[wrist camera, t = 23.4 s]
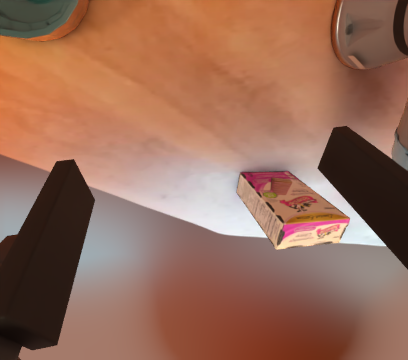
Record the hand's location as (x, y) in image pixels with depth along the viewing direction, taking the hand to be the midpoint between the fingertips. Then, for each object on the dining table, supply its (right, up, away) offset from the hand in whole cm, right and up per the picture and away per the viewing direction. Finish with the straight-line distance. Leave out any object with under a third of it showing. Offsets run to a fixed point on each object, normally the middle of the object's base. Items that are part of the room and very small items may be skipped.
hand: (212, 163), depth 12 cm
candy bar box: (+11, -1, +34) cm, 36 cm away
